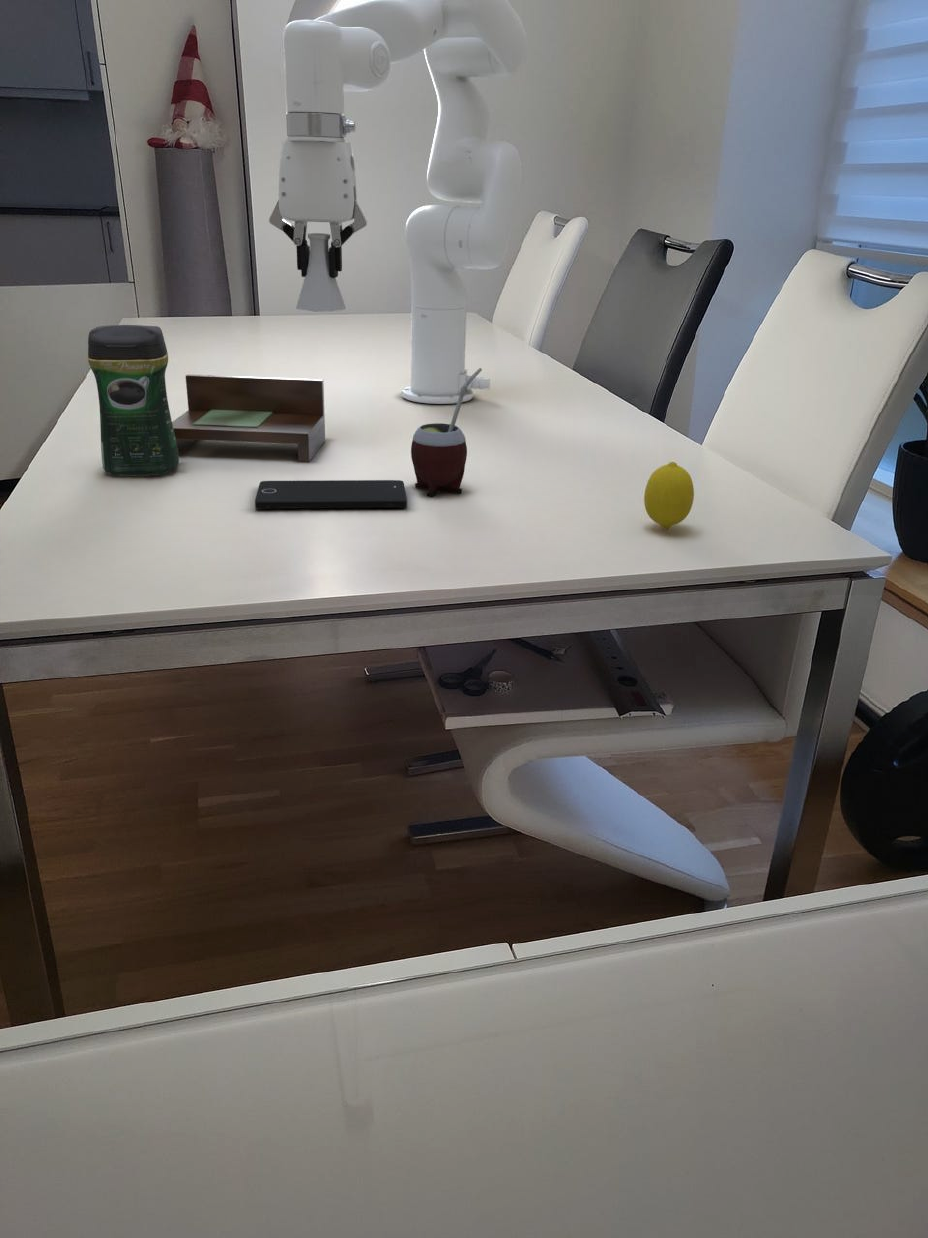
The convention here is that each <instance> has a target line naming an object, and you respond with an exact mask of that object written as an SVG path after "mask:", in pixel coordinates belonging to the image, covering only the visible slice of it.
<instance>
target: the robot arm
mask: <svg viewBox="0 0 928 1238" xmlns="http://www.w3.org/2000/svg"><path fill="white" fill-rule="evenodd" d="M422 51H423V52H424V58H425V61H426V64H427V67H428V71H429V73H430V74H429V75H430V76H431V79H432V83H433V86H434V89H435V94H436V97H437V98H436V99H437V103H438V113H437V120H436V126H435V130H434V136H433V141H432V145H431V151H430V155H429V159H428V160H429V161H428V166H427V174H426V184H427V189H428V191H429V193H430V194H431V196H433V197H435V198H436V199H438V200H441V201H447V202H452V203H453V202H454V203H468V204H470V203H471V204H481V205H480V206H461V205H450V204H429V205H424V206H421V207H418V208H416V209H415V210H414V211H413V212H412V213H411V214H410V215H409V216H408V219H407V220H406V223H405V230H404V234H405V235H404V236H405V238H404V239H405V245H406V252H407V257H408V265H409V272H410V295H411V296H410V385H408V386H406V387H403V388H402V390H401V396H402V398H403V399H405V400H407V401H411V402H414V403H420V404H429V405H430V404H431V405H451V404H452V405H453V404H457V402H458V398H459V395H460V394H459V392H460V389H461V387H463V385H464V383H465V382H466V381H467V380H468V378H469V377H470V376H471V375H468V369H466V340H467V339H466V336H467V308H468V307H467V305H468V304H467V301H468V299H467V291H466V287H465V285H464V282H463V280H462V278H461V276H460V275H459V272H458V271H457V269H458V268H459V269H470V270H471V269H472V270H493V269H496V268H497V267H499V266H500V265H501V264H502V263H503V262H504V260H505V258H506V255H507V253H508V249H509V247H510V242H511V237H512V234H513V227H514V223H515V218H516V213H517V208H518V203H519V199H520V194H521V188H522V183H523V182H522V181H523V166H522V159H521V155H520V153H519V151H518V149H517V148H516V146H514V145H513V144H511V143H510V142H507V141H504V140H497V139H495V140H494V139H487V135H488V129H489V124H490V112H489V108H488V105H487V103H486V101H485V99H484V97H483V95H482V94H481V93H480V91H479V89H478V87H477V86H476V84H475V83H474V81H473V79H472V78H489V77H490V78H493V77H494V78H495V77H496V78H503V77H511V76H513V75H515V74H517V73H518V72H519V71H520V70H521V69H522V67H523V66H524V65H525V62H526V59H527V54H528V37H527V33H526V29H525V27H524V24H523V22H522V20H521V18H520V16H519V15H518V13H517V12H516V10H515V9H514V7H513V6H512V4H511V2H510V1H509V0H367V1H363V2H361V3H358V4H356V5H353V6H349V7H346V8H342V9H339V10H336V11H333V12H330V13H327V14H324V15H321V16H319V17H317V18H315V19H298V20H293V21H291V22H289V23H287V24H286V25H285V27H284V30H283V55H284V56H283V58H284V59H283V61H284V87H285V111H286V113H285V114H286V115H285V116H286V135H287V136H286V137H287V138H286V140H282V142H281V149H280V159H279V175H278V177H279V178H278V200H277V201H276V204H275V206H274V208H273V210H272V211H271V214H270V217H269V218H268V222H269V224H270V225H272V226H273V227H275V228H276V229H278V230H280V231H282V232H283V234H285V235H286V236H287V237H288V238H289V240H291V241H292V242H293V244H294V245H295V247H296V267H297V268H296V269H297V270H298V271H300V273H301V278H305V276H306V275H307V267H308V263H309V255H310V245H309V244H308V240H307V229H308V223H329V227H330V237H331V242H330V247H329V274H330V277H331V278H336V279H337V278H338V276H339V272H342V271H343V251H342V250H343V249H342V246H344V244H345V243H346V242H347V241H348V240H349V239H350V238H351V237H352V236H353V235H355V234H356V233H357V232H359V231H361V230H362V229H364V228H366V227H367V226H368V220H367V218H366V216H365V214H364V213H363V211H362V209H361V207H360V205H359V204H358V196H357V195H358V194H357V193H358V192H357V180H356V168H355V159H354V152H353V147H352V143H351V142H345V141H346V137H347V135H348V134H350V133H354V134H355V133H356V121H355V120H354V121H353V120H350V119H348V118H346V116H345V92H369V91H373V90H375V89H377V88H379V87H380V86H382V85H383V84H384V82H385V81H386V80H387V78H388V76H389V74H390V71H391V65H393V64H397V63H403V62H405V61H409V60H410V59H411V58H413V57H415V56H417V55H418V54H419V53H421V52H422ZM288 221H292V222H294V225H293V224H291V223H290V222H288ZM348 221H353V222H352V223H350V224H348V225H346V226H345V227H344V228H343V223H346V222H348ZM490 386H491V378H484V377H483V376H481V377H478V376H476V377H475V378H474V379H473V380H472V381H471V383H470V384H469V386H468V387H467V392H466V394H465V396H464V397H463V400H462V403H465V402H469V401H471V400H472V399H473V398H474V397H473V396H474V391H473V390H479V391H480V390H484V391H489V390H491V389H490V388H491V387H490ZM472 389H473V390H472Z"/></svg>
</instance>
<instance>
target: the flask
mask: <svg viewBox="0 0 928 1238" xmlns="http://www.w3.org/2000/svg"><path fill="white" fill-rule="evenodd" d="M307 239H308V240H309V246H310V255H309V263H308V267H307V275H306V276H305V277H303V278H304V279H303V281H302V285H301V289H300V293H299V296H298V299H297V304H296V307H295V309H296V310H300V311H306V312H307V311H308V312H314V313H318V312H320V313H321V312H322V313H323V312H338V311H344V310H346V305H345V302H344V299H343V296H342V293H341V289H340V287H339V284H338V281H337V277H336V278H331V277H330V274H329V248H330V247H329V240H330V239H331V233H320V232H319V233H318V232H312V233H307Z"/></svg>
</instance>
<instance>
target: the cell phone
mask: <svg viewBox="0 0 928 1238" xmlns="http://www.w3.org/2000/svg"><path fill="white" fill-rule="evenodd" d="M407 505H408V499H407V493H406V488H405V482H404V481H403V480H401V479H361V480H360V479H358V480H357V479H356V480H355V479H354V480H353V479H346V480H344V479H342V480H339V479H337V480H335V479H334V480H333V479H332V480H326V479H325V480H323V479H322V480H321V479H320V480H319V479H318V480H261V481H260V482H259V484H258V488H257V491H256V496H255V498H254V507H255V509H258V510H259V509H260V510H261V509H262V510H263V509H369V508H371V509H373V508H377V509H378V508H381V509H383V508H386V509H387V508H390V509H391V508H397V509H398V508H399V509H400V508H401V509H404V508H406V507H407Z"/></svg>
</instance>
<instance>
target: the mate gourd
mask: <svg viewBox="0 0 928 1238" xmlns="http://www.w3.org/2000/svg"><path fill="white" fill-rule="evenodd" d="M482 371H483V369H482V367H479V368H478V369H477V370H476V371H474V372H473V373H472V374H471V375H469V376H470V377H469V378H468V380H467V381H466V382H465V383H464V385H463V387H461V389H460V392H459V394H460V395H459V398H458V402H457V403H456V405H455V409H454V410H453V411H454V412H453V415H452V418H451V421H450V423H443V422H441V423H439V422H438V423H437V422H436V423H435V422H434V423H425V424H422V425H420V426H418V428H416V431H415V432H414V434H413V436H412V440H411V445H410V458H411V462H412V465H413V471H414V474H415V478H416V483H414V487H415V489H421V490H428V491H427V492H426V497H429V498H432V497H435V495H437V494H438V493H440V492H444V493H451V494H459V495H460V494H462V491H463V488H461V485H462V482H463V478H464V475H465V470H466V462H467V456H468V447H467V442H466V441H467V440H466V436H465V434H464V433H463V431H462V429H461V428H460V427H459V426H458V425H456V423H457V419H458V416H459V413H460V410H461V407H462V404H463V402H462V400H463V397H464V396H465V394H466V392H467V387H468V386H469V384H470V383H471V381H472V380H473V379H474V378H477V377H478V375H479V374H480V373H481V372H482Z"/></svg>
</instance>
